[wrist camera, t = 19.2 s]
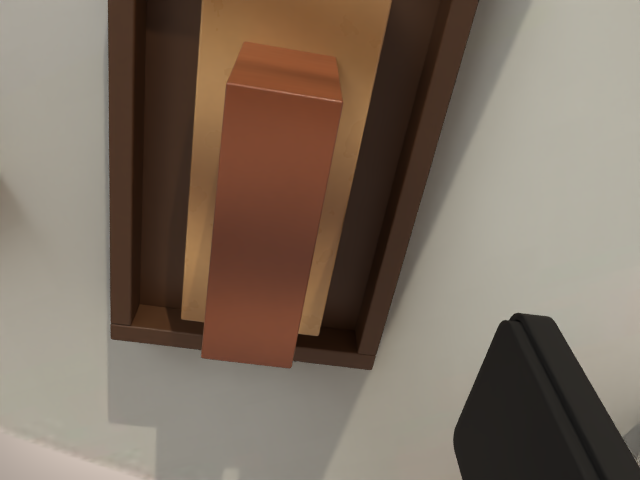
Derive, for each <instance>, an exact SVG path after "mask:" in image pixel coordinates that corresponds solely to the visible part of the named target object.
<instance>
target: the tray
mask: <svg viewBox="0 0 640 480" xmlns="http://www.w3.org/2000/svg"><path fill="white" fill-rule="evenodd" d="M478 2H479V0H392V4H391V9H390V13H389V18H388V22H387V27H386V32H385V36H384V41H383V45H382V50H381V54H380V59H379V63H378V68H377V73H376V77H375V82H374V86H373V91H372V95H371V100H370V104H369V109H368V114H367V118H366V123H365V127H364V132H363V136H362V141H361V146H360V150H359V155H358V159H357V164H356V168H355V173H354V177H353V182H352V187H351V191H350V196H349V200H348V205H347V209H346V214H345V218H344V223H343V228H342V232H341V237H340V241H339V246H338V250H337V255H336V260H335V264H334V269H333V273H332V278H331V282H330V287H329V291H328V296H327V301H326V305H325V310H324V314H323V319H322V323H321V328H320V332H319V335H318V336H313V335H304V334H298V337H297V342H296V347H295V353H294V358H293V361H299V362H307V363H316V364H324V365H332V366H341V367H349V368H358V369H366V370H372V367H373V364H374V361H375V357H376V356H375V355H376V354H377V350H378V347H379V343H380V340H381V336H382V333H383V330H384V326H385V323H386V319H387V316H388V312H389V309H390V305H391V302H392V299H393V295H394V292H395V288H396V285H397V281H398V278H399V274H400V271H401V267H402V264H403V261H404V257H405V254H406V250H407V247H408V243H409V240H410V236H411V233H412V230H413V226H414V223H415V219H416V216H417V212H418V209H419V205H420V202H421V199H422V195H423V192H424V188H425V185H426V181H427V178H428V174H429V171H430V167H431V164H432V161H433V157H434V154H435V150H436V147H437V143H438V140H439V136H440V133H441V130H442V126H443V123H444V119H445V116H446V112H447V109H448V105H449V102H450V99H451V95H452V92H453V88H454V85H455V81H456V78H457V74H458V71H459V68H460V64H461V61H462V57H463V54H464V50H465V47H466V43H467V40H468V36H469V33H470V30H471V26H472V23H473V19H474V16H475V12H476V9H477V5H478ZM201 5H202V0H108V56H109V178H110V301H111V339H114V340H122V341H131V342H139V343H147V344H156V345H164V346H173V347H181V348H189V349H198V350H202V340H203V329H204V322H199V321H190V320H183V319H181V308H182V292H183V277H184V262H185V247H186V232H187V217H188V202H189V187H190V171H191V156H192V141H193V126H194V111H195V96H196V81H197V66H198V50H199V35H200V20H201Z"/></svg>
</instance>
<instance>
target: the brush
mask: <svg viewBox="0 0 640 480" xmlns="http://www.w3.org/2000/svg"><path fill="white" fill-rule="evenodd" d="M391 4H392V0H202V5H201V20H200V35H199V50H198V66H197V81H196V96H195V111H194V126H193V141H192V156H191V171H190V187H189V202H188V217H187V232H186V247H185V262H184V277H183V292H182V308H181V319H183V320H190V321H199V322H204V329H203V340H202V351H201V357H202V358H204V359H212V360H221V361H229V362H238V363H246V364H255V365H264V366H272V367H281V368H291V367H292V363H293V358H294V353H295V347H296V342H297V337H298V334H304V335H313V336H318V335H319V332H320V328H321V323H322V319H323V314H324V310H325V305H326V301H327V296H328V291H329V287H330V282H331V278H332V273H333V269H334V264H335V260H336V255H337V250H338V246H339V241H340V237H341V232H342V228H343V223H344V218H345V214H346V209H347V205H348V200H349V196H350V191H351V187H352V182H353V177H354V173H355V168H356V164H357V159H358V155H359V150H360V146H361V141H362V136H363V132H364V127H365V123H366V118H367V114H368V109H369V104H370V100H371V95H372V91H373V86H374V82H375V77H376V73H377V68H378V63H379V59H380V54H381V50H382V45H383V41H384V36H385V32H386V27H387V22H388V18H389V13H390V9H391Z"/></svg>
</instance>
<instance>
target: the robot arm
mask: <svg viewBox="0 0 640 480" xmlns="http://www.w3.org/2000/svg"><path fill="white" fill-rule="evenodd" d="M453 443H454V450H455V454H456V458H457V461H458V465H459V469H460V472H461V476H462V479H463V480H640V468H639V466H638V464H637V463H636V461H635V459H634V457H633V456H632V454H631V452H630V450H629V449H628V447H627V445H626V444H625V442H624V440H623V438H622V437H621V435H620V433H619V431H618V430H617V428H616V426H615V425H614V423H613V421H612V419H611V418H610V416H609V414H608V412H607V411H606V409H605V407H604V406H603V404H602V402H601V400H600V399H599V397H598V395H597V394H596V392H595V390H594V388H593V387H592V385H591V383H590V381H589V380H588V378H587V376H586V375H585V373H584V371H583V369H582V368H581V366H580V364H579V362H578V361H577V359H576V357H575V356H574V354H573V352H572V350H571V349H570V347H569V345H568V344H567V342H566V340H565V338H564V337H563V335H562V333H561V331H560V330H559V328H558V326H557V325H556V323H555V321H554V320H553V319H552V318H550V317H547V316H539V315H530V314H522V313H516V314H514V315H513V316H512V317H511V318H510V320H509V321H508V320H504V321H502V322H501V323H500V324H499V326H498V328H497V331H496V333H495V335H494V338H493V340H492V342H491V345H490V347H489V349H488V352H487V354H486V357H485V359H484V361H483V364H482V366H481V368H480V371H479V373H478V375H477V378H476V380H475V382H474V385H473V387H472V389H471V392H470V394H469V396H468V399H467V401H466V403H465V406H464V408H463V410H462V413H461V415H460V418H459V420H458V422H457V425H456V427H455V430H454V437H453Z"/></svg>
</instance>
